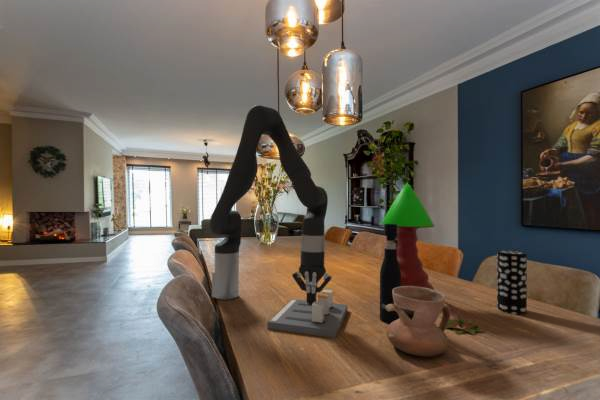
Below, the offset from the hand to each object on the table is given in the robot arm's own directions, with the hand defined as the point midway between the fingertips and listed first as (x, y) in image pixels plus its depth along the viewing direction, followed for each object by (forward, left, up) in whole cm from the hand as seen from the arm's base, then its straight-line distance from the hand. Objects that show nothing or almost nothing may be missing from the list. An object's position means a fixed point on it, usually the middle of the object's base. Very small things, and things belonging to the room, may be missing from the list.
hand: (311, 304), depth 95 cm
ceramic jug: (+31, -10, -5) cm, 33 cm away
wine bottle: (+24, +7, -5) cm, 25 cm away
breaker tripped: (+4, 0, -2) cm, 4 cm away
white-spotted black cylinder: (+64, +29, -5) cm, 70 cm away
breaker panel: (0, 0, -5) cm, 5 cm away
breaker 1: (+4, -6, -2) cm, 8 cm away
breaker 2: (+4, +7, -2) cm, 8 cm away
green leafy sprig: (+44, +8, -5) cm, 45 cm away
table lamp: (+30, +32, -5) cm, 44 cm away
